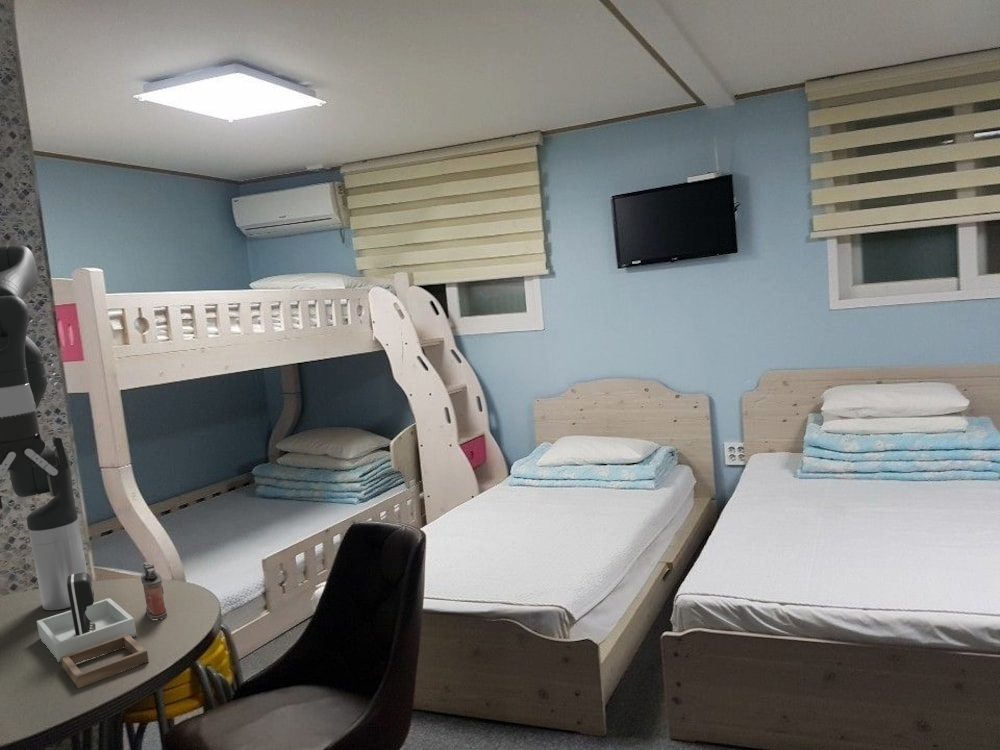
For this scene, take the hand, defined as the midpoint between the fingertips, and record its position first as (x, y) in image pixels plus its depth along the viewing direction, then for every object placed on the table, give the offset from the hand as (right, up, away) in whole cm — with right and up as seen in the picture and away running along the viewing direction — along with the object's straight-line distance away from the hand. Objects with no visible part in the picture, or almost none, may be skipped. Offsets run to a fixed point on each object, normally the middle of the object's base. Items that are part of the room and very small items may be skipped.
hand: (27, 502), depth 142 cm
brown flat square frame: (+16, -27, -4) cm, 32 cm away
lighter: (+16, -25, +17) cm, 34 cm away
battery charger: (+6, -26, +9) cm, 28 cm away
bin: (+6, -27, +9) cm, 29 cm away
